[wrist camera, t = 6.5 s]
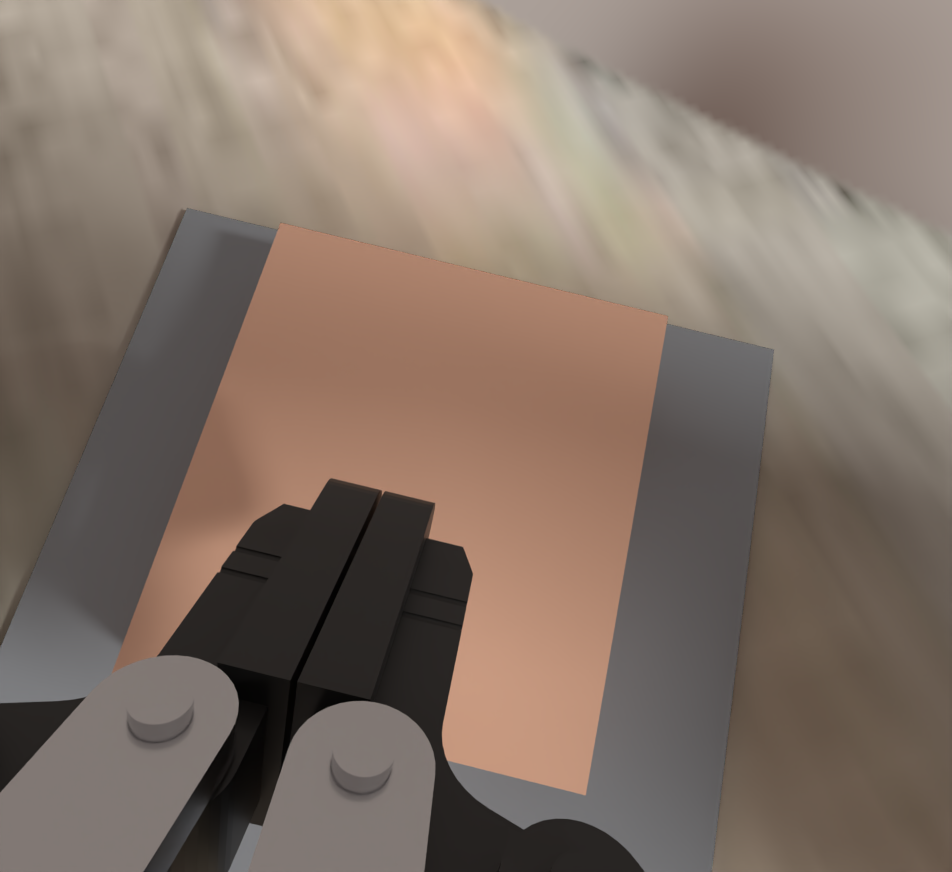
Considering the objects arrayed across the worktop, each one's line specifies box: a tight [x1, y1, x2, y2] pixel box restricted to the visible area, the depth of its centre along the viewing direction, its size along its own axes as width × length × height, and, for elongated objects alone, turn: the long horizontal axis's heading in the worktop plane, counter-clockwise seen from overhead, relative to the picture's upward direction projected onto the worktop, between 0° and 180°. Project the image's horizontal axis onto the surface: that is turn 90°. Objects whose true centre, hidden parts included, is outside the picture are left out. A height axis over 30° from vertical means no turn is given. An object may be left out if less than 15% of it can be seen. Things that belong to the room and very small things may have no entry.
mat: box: [0, 208, 774, 872], centre depth 17 cm, size 16×17×1 cm
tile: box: [112, 223, 668, 795], centre depth 16 cm, size 9×3×10 cm
